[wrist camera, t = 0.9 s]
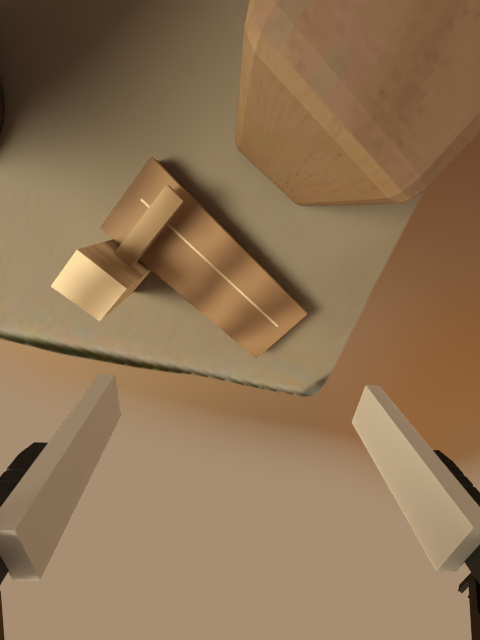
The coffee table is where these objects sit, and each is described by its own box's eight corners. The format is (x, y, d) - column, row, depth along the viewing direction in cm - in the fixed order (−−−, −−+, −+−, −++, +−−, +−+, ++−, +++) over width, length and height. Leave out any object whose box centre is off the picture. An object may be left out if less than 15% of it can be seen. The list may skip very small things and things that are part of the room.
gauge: (97, 267, 31) (49, 289, 23) (165, 177, 27) (137, 164, 19) (131, 294, 33) (97, 323, 24) (200, 212, 29) (188, 214, 21)
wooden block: (366, 127, 26) (673, -56, 8) (300, 209, 29) (415, 213, 11) (296, 45, 24) (523, -513, 5) (231, 145, 27) (233, 9, 8)
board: (110, 225, 29) (99, 227, 27) (157, 161, 27) (151, 156, 25) (254, 349, 37) (256, 358, 34) (302, 307, 34) (307, 314, 32)
